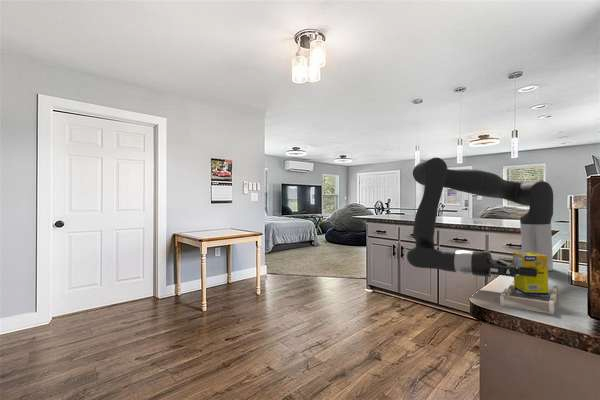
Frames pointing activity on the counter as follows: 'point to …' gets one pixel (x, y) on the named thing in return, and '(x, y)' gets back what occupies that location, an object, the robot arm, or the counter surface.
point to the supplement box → (529, 283)
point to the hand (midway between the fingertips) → (538, 269)
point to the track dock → (528, 301)
